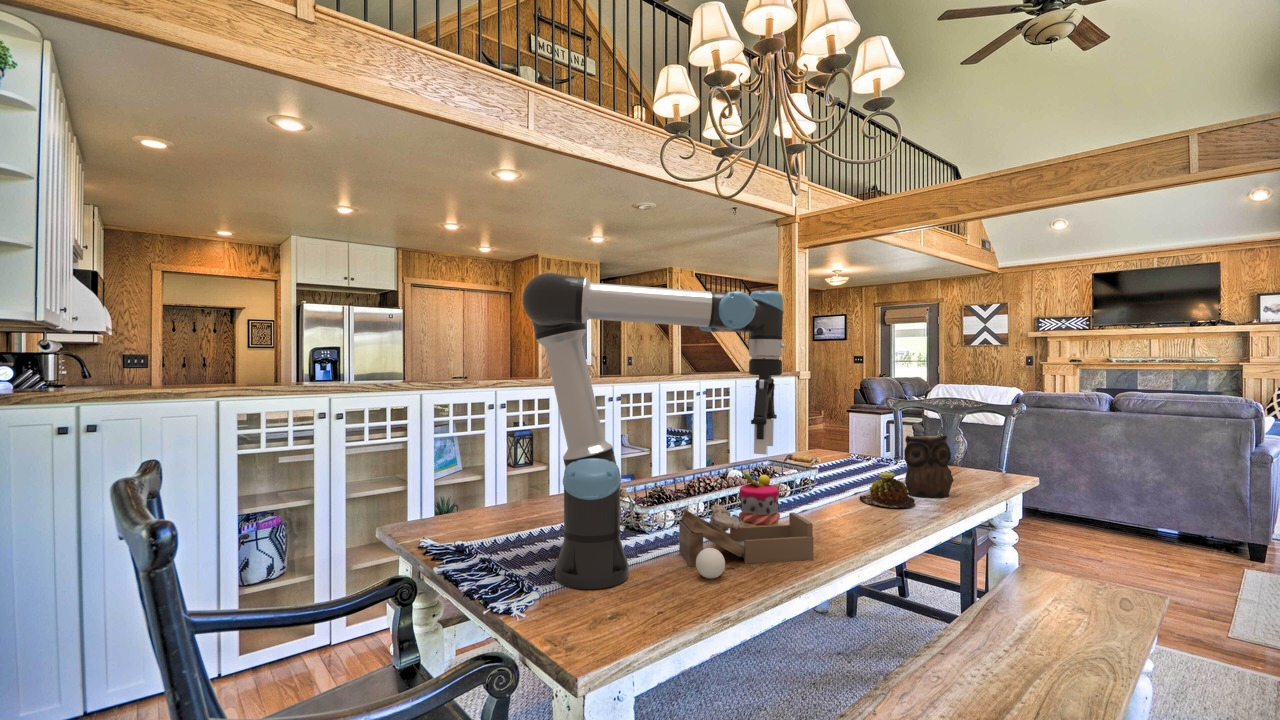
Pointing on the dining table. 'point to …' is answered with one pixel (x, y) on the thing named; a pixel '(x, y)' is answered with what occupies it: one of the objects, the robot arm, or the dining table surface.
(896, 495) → the cactus
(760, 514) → the cake
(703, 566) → the ball
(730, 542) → the ramp
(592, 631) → the dining table surface
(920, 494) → the dark brown owl statuette
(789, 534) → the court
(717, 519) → the rock
